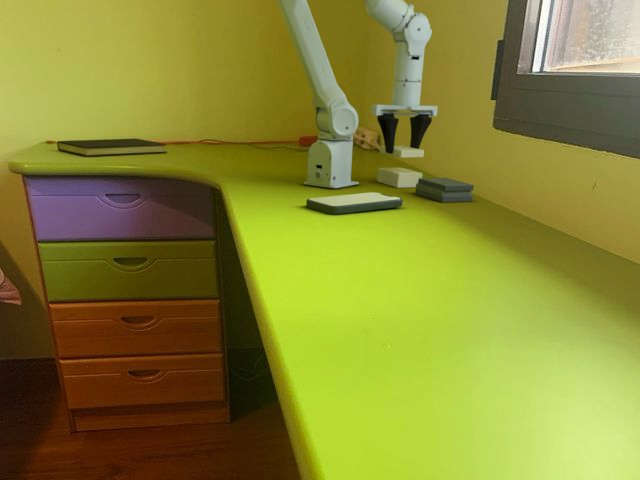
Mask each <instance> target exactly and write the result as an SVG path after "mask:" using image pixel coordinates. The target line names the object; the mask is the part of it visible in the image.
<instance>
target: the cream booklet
mask: <svg viewBox="0 0 640 480" xmlns="http://www.w3.org/2000/svg"><path fill="white" fill-rule="evenodd" d="M380 154H384V155H388V156H391V157H396V158H424V157H425V156H424V155H425V150H424V149H421V148H419V149H416V148H411V147H410V146H406V145H394V150H393V154H390V153H386V151H385V145H380Z"/></svg>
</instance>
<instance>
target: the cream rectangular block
mask: <svg viewBox="0 0 640 480" xmlns="http://www.w3.org/2000/svg"><path fill="white" fill-rule="evenodd" d="M419 178H423V173H422V172H419V171H417V170H416V171H415V170H412V169H408V168H404V167H378V168H377V175H376V181H377V182H378V183H380V184H383V185H388V186H391V187H393V188H397V189H399V188H400V189H401V188H416V184H417V183H418V179H419Z"/></svg>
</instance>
